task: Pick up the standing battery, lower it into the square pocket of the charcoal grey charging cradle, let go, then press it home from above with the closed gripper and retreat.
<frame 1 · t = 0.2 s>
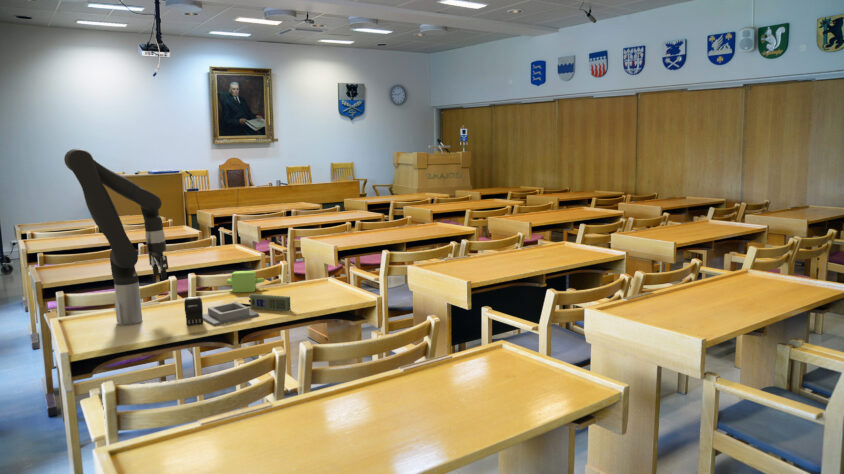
hand: (160, 277, 270), 17 cm above the table, tool pointing down, fingers open, 8 cm apart
charging cradle: (229, 316, 271), on the table
gearbox: (246, 290, 315), on the table
battery: (194, 324, 261), on the table
handheld radio: (265, 309, 282), on the table
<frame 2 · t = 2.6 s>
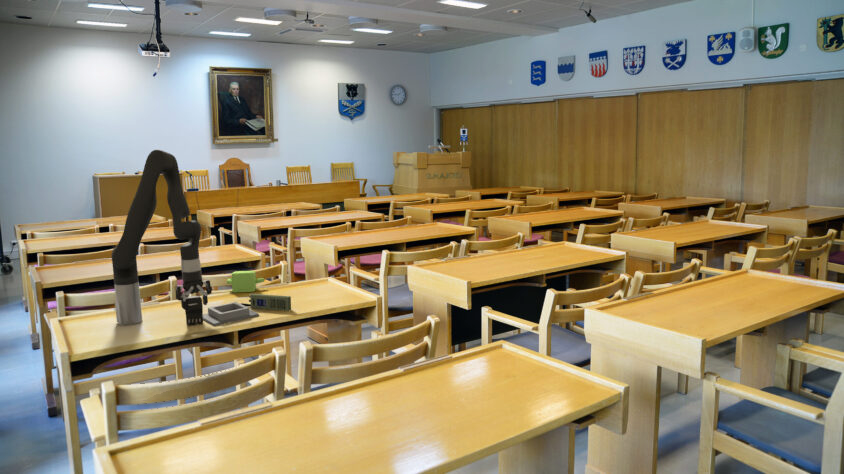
hand: (195, 306, 261), 7 cm above the table, tool pointing down, fingers open, 8 cm apart
battery: (194, 324, 261), on the table, touching gripper
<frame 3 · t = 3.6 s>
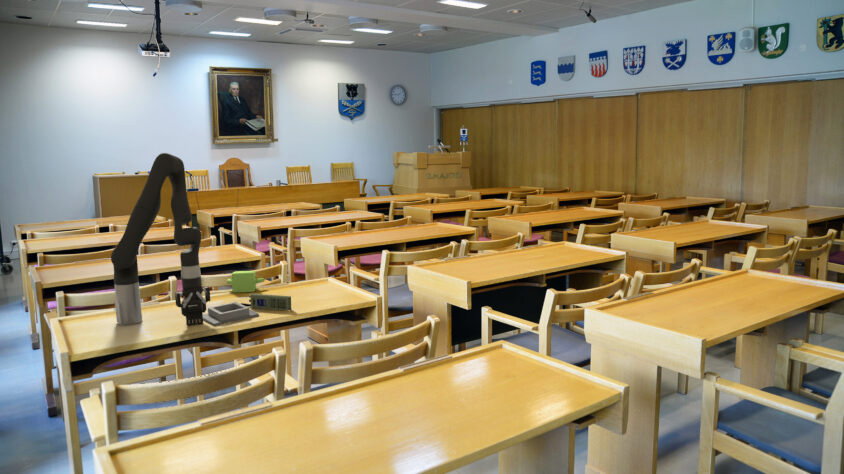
hand: (194, 313, 260), 4 cm above the table, tool pointing down, fingers closed on battery, 7 cm apart
battery: (194, 324, 261), on the table, touching gripper
everything else where it was.
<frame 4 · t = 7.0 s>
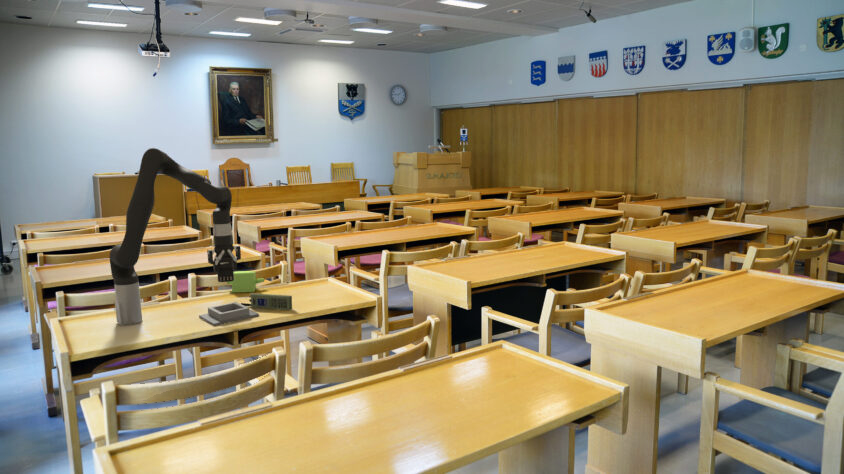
hand: (225, 271, 267), 20 cm above the table, tool pointing down, fingers closed on battery, 7 cm apart
battery: (226, 282, 268), point 15 cm above the table, touching gripper
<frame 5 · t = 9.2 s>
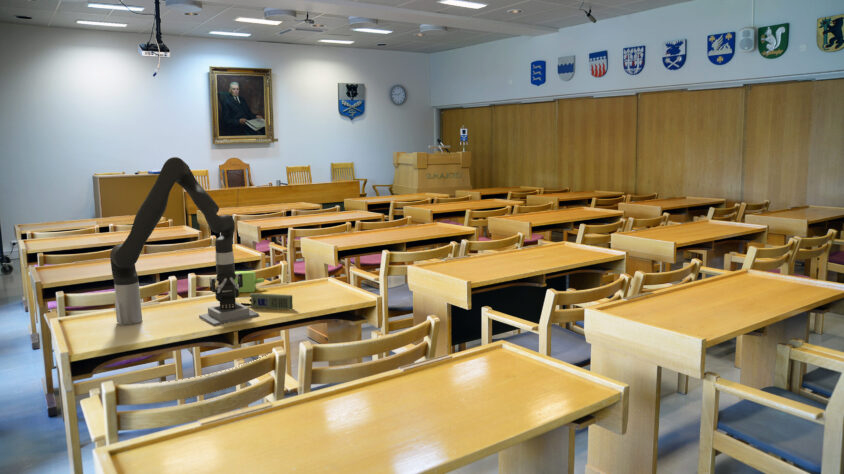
hand: (227, 299, 270), 8 cm above the table, tool pointing down, fingers closed on battery, 7 cm apart
battery: (228, 309, 270), point 3 cm above the table, touching gripper
when the fingers open (7 cm above the table, at t = 10.6 s): battery drops 1 cm, resting on charging cradle.
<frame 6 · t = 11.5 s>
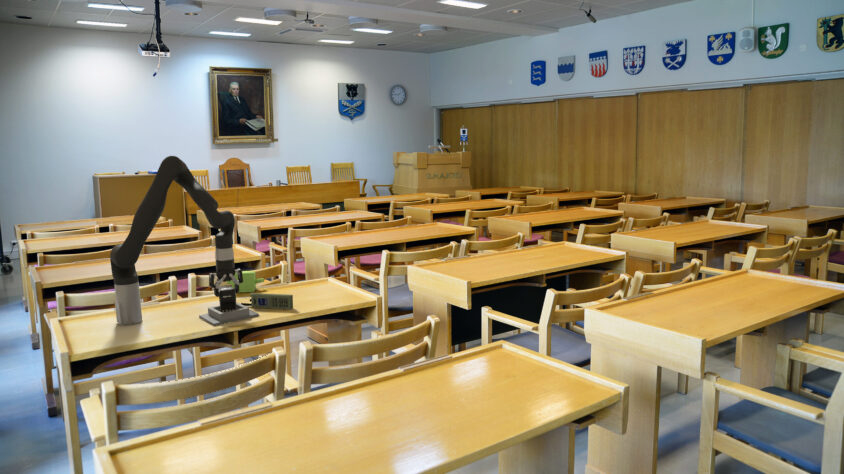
hand: (227, 294, 269), 10 cm above the table, tool pointing down, fingers open, 8 cm apart
battery: (228, 314, 271), point 1 cm above the table, touching charging cradle, gripper
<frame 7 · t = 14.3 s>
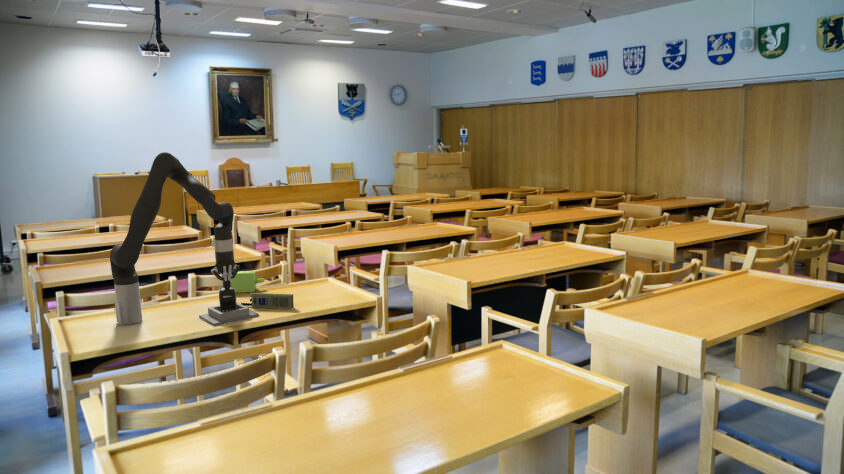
hand: (227, 288, 269), 12 cm above the table, tool pointing down, fingers closed
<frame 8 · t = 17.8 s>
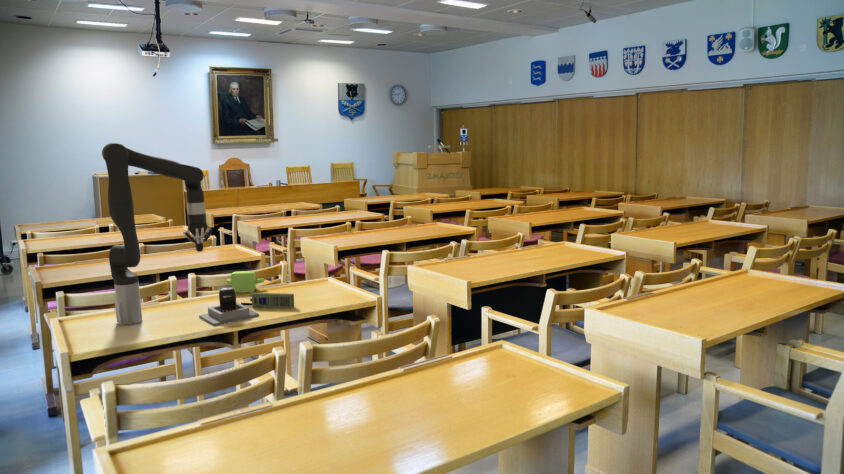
hand: (199, 251, 276), 27 cm above the table, tool pointing down, fingers closed
battery: (228, 314, 271), point 1 cm above the table, touching charging cradle
at the end: battery 0.2 cm off-centre on the charging cradle, point 0.8 cm above the charging cradle's base; battery tilted 0°; the gripper is holding nothing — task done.
